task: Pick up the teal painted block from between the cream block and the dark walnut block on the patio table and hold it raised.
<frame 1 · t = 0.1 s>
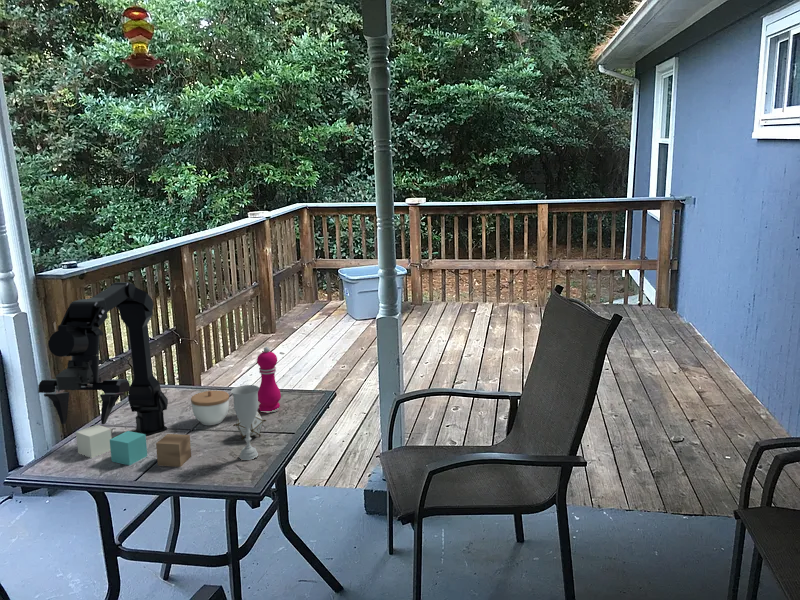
hand: (83, 424, 150), 15 cm above the table, tool pointing down, fingers open, 9 cm apart
cream block: (95, 452, 173), on the table
teal block: (129, 459, 168), on the table
chalice: (249, 457, 169), on the table
pepper mill: (269, 410, 202), on the table
walnut block: (174, 461, 167), on the table
game die: (250, 437, 182), on the table
lidded jar: (211, 422, 193), on the table
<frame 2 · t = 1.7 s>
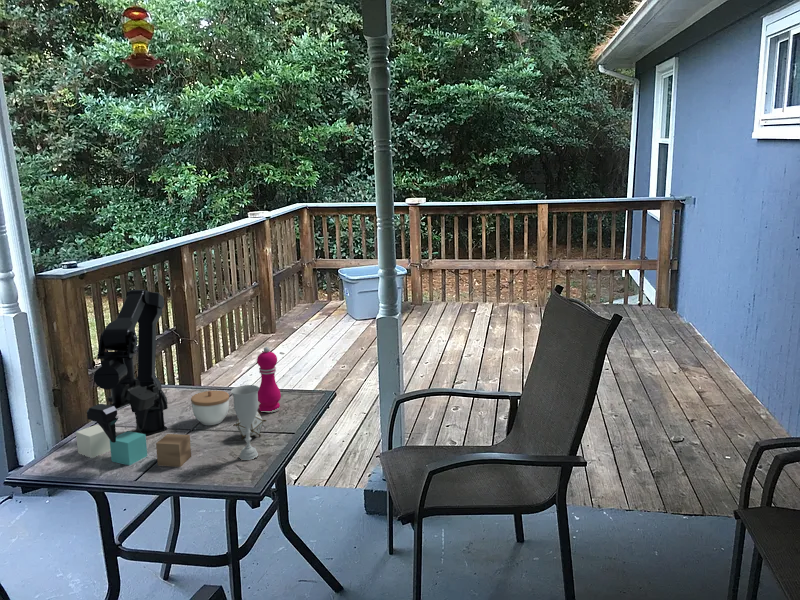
hand: (127, 435, 167), 6 cm above the table, tool pointing down, fingers open, 9 cm apart
nothing on the table moved.
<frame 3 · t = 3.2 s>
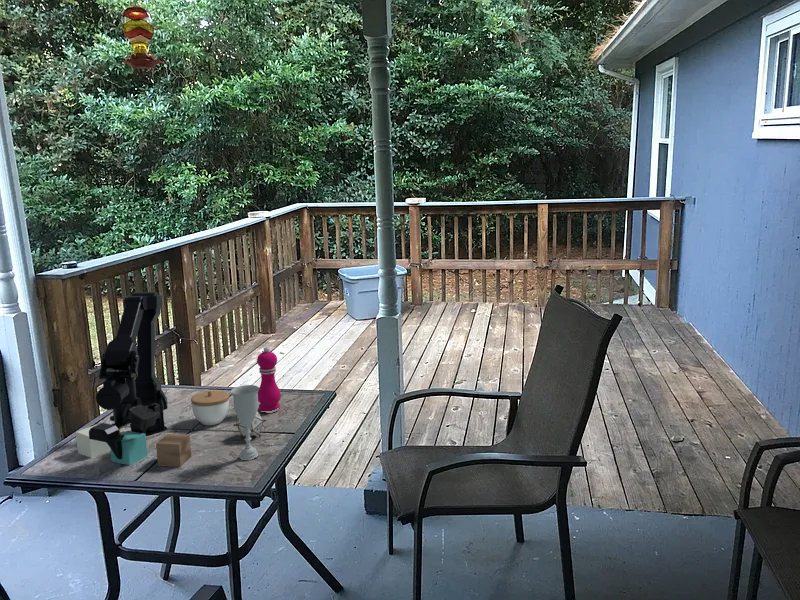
hand: (129, 454, 168), 1 cm above the table, tool pointing down, fingers closed on teal block, 6 cm apart
teal block: (129, 458, 168), on the table, touching gripper
everything else where it was.
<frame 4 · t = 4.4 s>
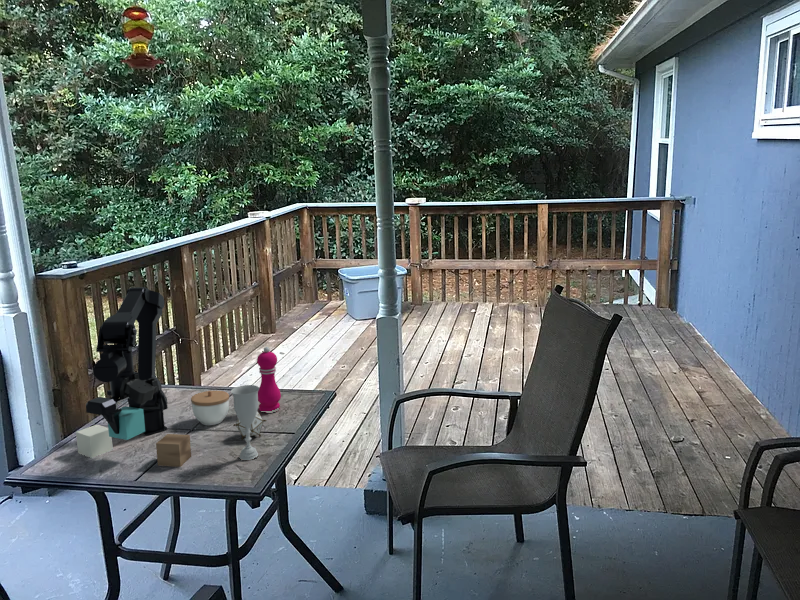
hand: (126, 429, 167), 8 cm above the table, tool pointing down, fingers closed on teal block, 6 cm apart
teal block: (127, 433, 167), point 7 cm above the table, touching gripper
everything else where it was.
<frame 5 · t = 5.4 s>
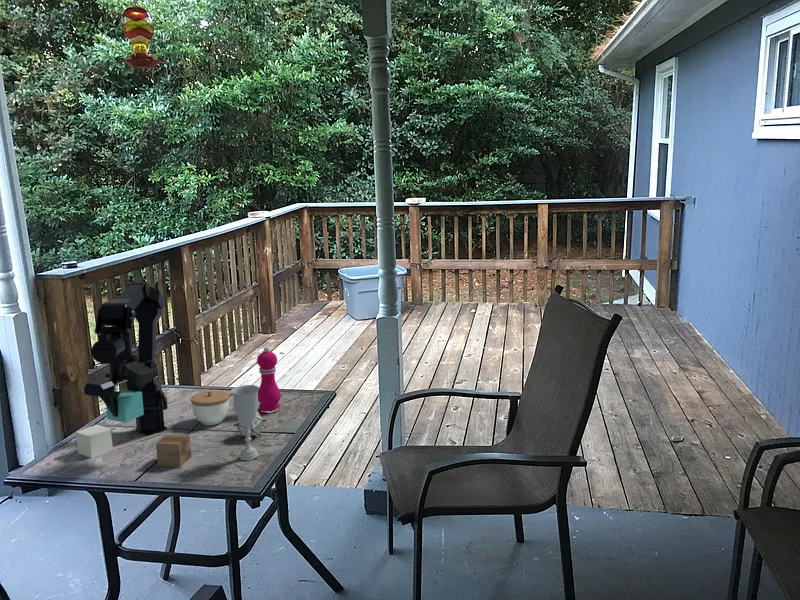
hand: (125, 412, 166), 12 cm above the table, tool pointing down, fingers closed on teal block, 6 cm apart
teal block: (125, 416, 166), point 11 cm above the table, touching gripper
everything else where it was.
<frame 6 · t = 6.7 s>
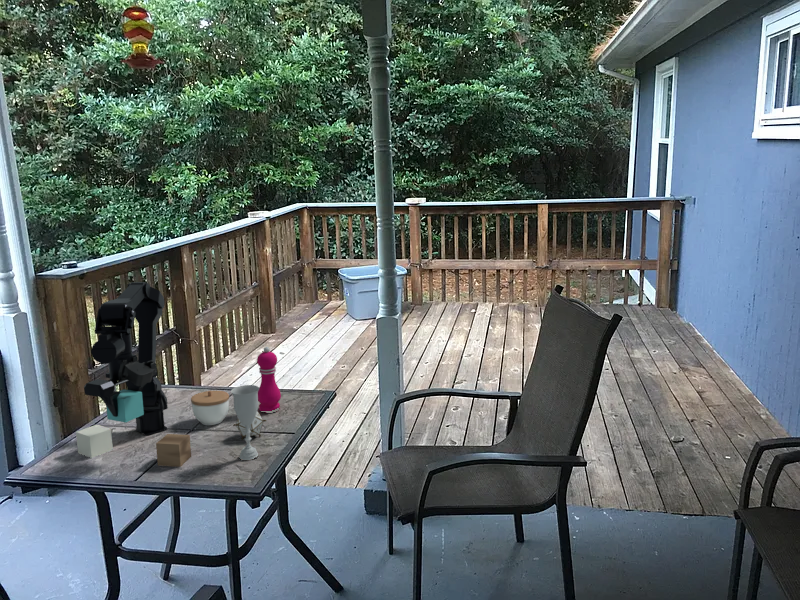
hand: (125, 412, 166), 12 cm above the table, tool pointing down, fingers closed on teal block, 6 cm apart
teal block: (125, 416, 166), point 11 cm above the table, touching gripper
everything else where it was.
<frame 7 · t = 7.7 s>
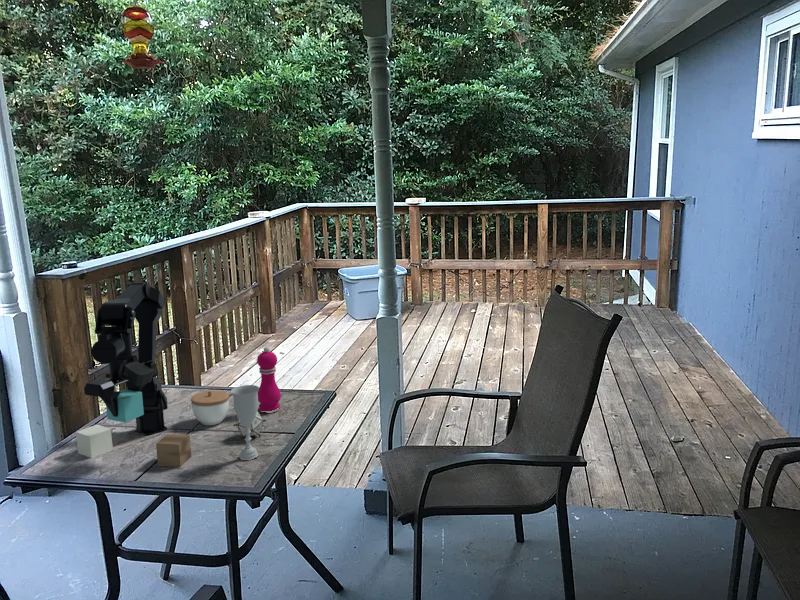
hand: (125, 412, 166), 12 cm above the table, tool pointing down, fingers closed on teal block, 6 cm apart
teal block: (125, 416, 166), point 11 cm above the table, touching gripper
everything else where it was.
at the end: the gripper is holding teal block; teal block point 11.2 cm above the table; cream block moved 0.1 cm from its start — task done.
